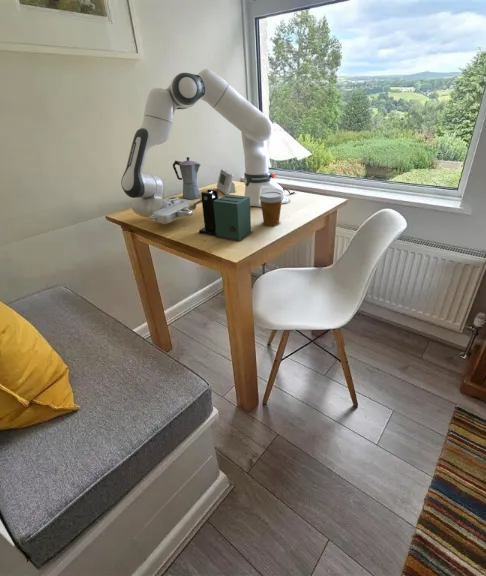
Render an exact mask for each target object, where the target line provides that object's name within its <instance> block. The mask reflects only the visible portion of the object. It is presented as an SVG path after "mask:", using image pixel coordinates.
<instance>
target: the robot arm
mask: <svg viewBox="0 0 486 576" xmlns="http://www.w3.org/2000/svg"><path fill="white" fill-rule="evenodd" d="M146 98H147V99H146V102H145V107H144V111H143V112H144V113H143V119H142V123H141V126H140V127H139V129H137V130H136V132H135V134H134V136H133V139H132V143H131V147H130V150H129V155H128V158H127V163H126V168H125V170H124V172H123V174H122V177H121V181H120V184H121V189H122V190H123V192H124V194H126V196H127V197H129V198H130V199H131V200H130V208H131V210H132V212H134V214H136V215H138V216H140V217H143V218H148V219H150V220H153V221H154V222H156V223H158V224H163V225H167V224H169V223H172V222H173V221H176V220H178V219H180V218H185V217H187V218H189V217H191V216H193V215H194V212H193V211H194V210H191V209H189V207H188V204H189V202H191V201H192V199H185V198H179V197H178V196H174V197H173V196H172V197H168V198H164V194H165V183H164V181H163V179H162V178H161V177H160V176H159V175H157V174H153V173H151V174H150V173H144V172H143V170H144V165H145V162H146V157H147V154H148V152H149V150H150V149H151V148H153V147H155V146H159V145H162V144H165V143H166V142H167V141H169V139H170V137H171V135H172V132H173V124H174V115H175V112H176V110H186V109H189V108H191V107H193V106H194V105H195V104H196V103H197V102H199V100H201V101H203V102H205V103H207V104H208V105H209V106H210V107H211V108H213V110H215V111H216V113H218V114H220V115H221V116H222V117H223V118H224V119H225V120H226V121H228V122H229V123H230V124H232V125H233V126H234V127H235V128H236V129H238V130H239V131H240V132H241V140H242V148H243V155H244V173H243V174H244V176H243V179H244V180H243V181H244V196H246V197H250V207H258V208H262V207H261V201H260V199H259V197H260V195H261V193H264V192H279V193H281V194H282V196H283V199H282V203H281V205H283V204H286V203H289V202H290V201H289V198H288V197H287V196H286V195H285V191H286V192H287V193H288V194H289V195H293V194H295V193H296V192H295V191H292V192H291V191H290V190H289V189H288V188H285V186H281V185H280V184H279V183H277V182H276V181H274V180H273V179H275V178H276V173H273V172H270V171H269V151H268V148H267V147H268V146H267V141H268V140H269V139H270V138H271V137H272V134H273V133H274V132H273V131H274V127H273V123H272V121H271V120H270V118H269V117H268V116H267V115H266V114H264V113H263V112H262V111H261V110H260V109H259V108H257V107H256V106H255V105H254V104H253V103H251V102H250V101H249V100H247V98H245V97H244V96H243V95H242V94H240V93H239V92H238V91H237V90H236V89H235V88H234V87H233V86H232V85H231V84H229V83H228V82H227V81H226V80H225V79H224V78H222V77H221V76H220V75H219V74H217V73H216V72H215V71H213V70H211V69H208V68H204V69H202V70H201V71H199V72H198V73H197V74H195V73H190V72H180V73H177V75H176V76H175V77H173V78H172V79H171V82H170V84H169V85H168V87H167V88H162V87H153V88H152V89H150V90H149V92H148V95H147V97H146ZM290 192H291V193H290Z"/></svg>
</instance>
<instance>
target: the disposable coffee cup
mask: <svg viewBox="0 0 486 576" xmlns="http://www.w3.org/2000/svg"><path fill="white" fill-rule="evenodd" d="M259 199H260V201H261V207H260V208H261V215H262V219H263V220H262V221H263V225H264V226H268V227H269V226H270V227H274V226H277V225H279V223H280V217H281V210H282V204H283V203H282V199H283V196H282V194H281V193H279V192H264V193H261V195H260V197H259ZM281 203H282V204H281Z"/></svg>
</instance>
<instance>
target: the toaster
mask: <svg viewBox="0 0 486 576" xmlns="http://www.w3.org/2000/svg"><path fill="white" fill-rule="evenodd" d="M213 204H214V214H215V225H216V235H217V236H216V238H220V239H225V240H230V241H236V242H240V241H242V240H243V239H244V238H246V237H247V236H248V235H250V234H251V233H252V226H251V225H252V222H251V206H250V197H246V196H245V195H238V194H236V195H235V194H231V193H229V194H224V195H222V196H220V197H219V198H218V199H216V200H214V201H213Z"/></svg>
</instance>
